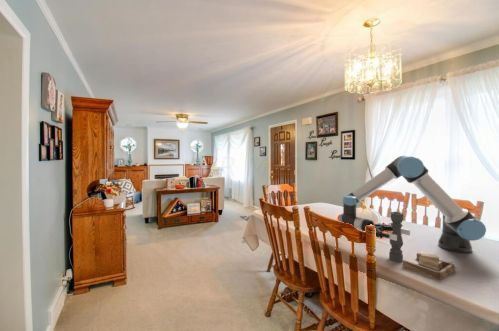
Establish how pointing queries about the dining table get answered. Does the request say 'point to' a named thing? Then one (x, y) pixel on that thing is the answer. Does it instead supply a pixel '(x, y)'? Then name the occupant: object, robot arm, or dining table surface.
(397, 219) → the candle holder
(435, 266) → the offcut lower
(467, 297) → the dining table surface
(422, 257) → the offcut upper
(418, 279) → the dining table surface
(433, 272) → the walnut caddy
